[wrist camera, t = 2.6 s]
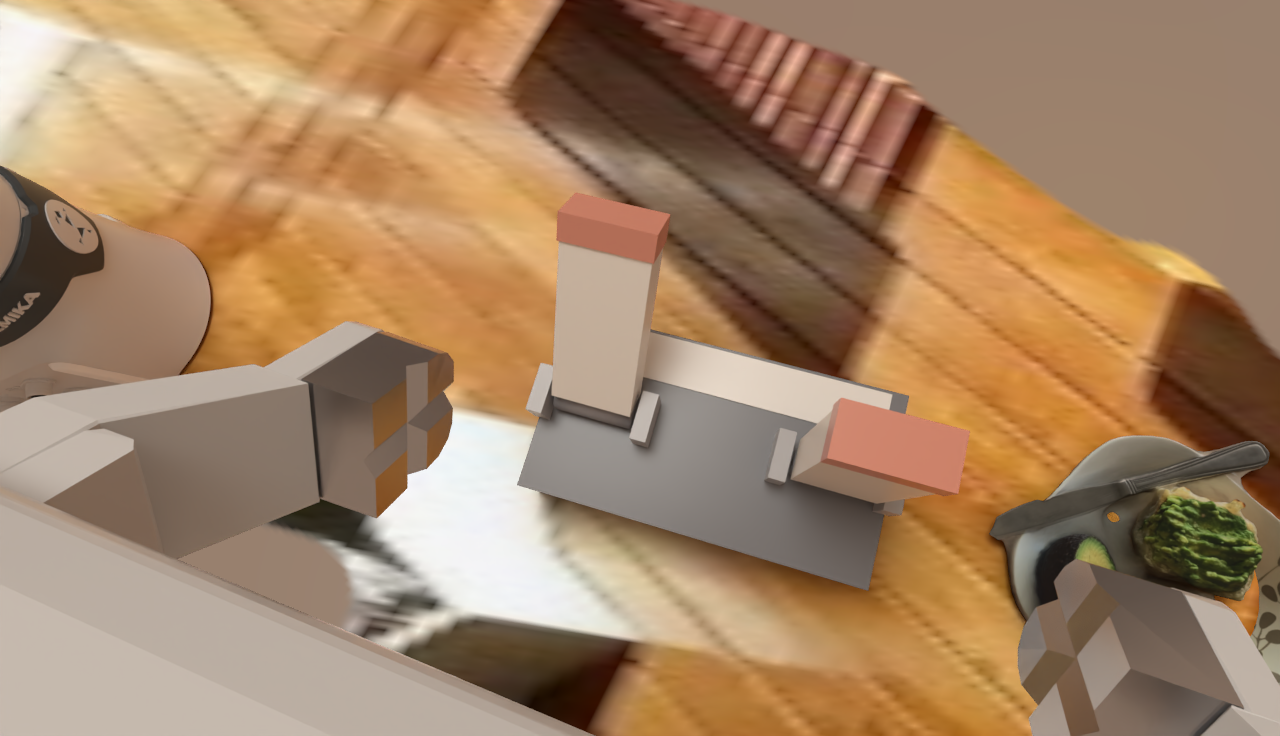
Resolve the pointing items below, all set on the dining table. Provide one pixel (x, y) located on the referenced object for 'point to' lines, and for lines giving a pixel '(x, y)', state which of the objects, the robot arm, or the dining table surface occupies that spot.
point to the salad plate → (1154, 527)
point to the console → (715, 458)
